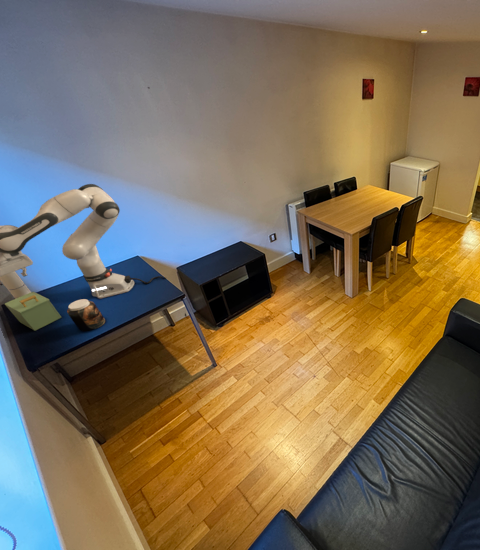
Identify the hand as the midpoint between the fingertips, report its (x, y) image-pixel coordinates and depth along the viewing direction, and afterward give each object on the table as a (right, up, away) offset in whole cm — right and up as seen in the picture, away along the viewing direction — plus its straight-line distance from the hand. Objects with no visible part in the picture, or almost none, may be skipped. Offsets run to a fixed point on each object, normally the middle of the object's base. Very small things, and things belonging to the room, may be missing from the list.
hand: (13, 280), depth 148 cm
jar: (+26, -25, +15) cm, 39 cm away
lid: (-5, -12, +11) cm, 17 cm away
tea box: (-6, -23, +18) cm, 30 cm away
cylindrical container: (-27, -15, +30) cm, 43 cm away
